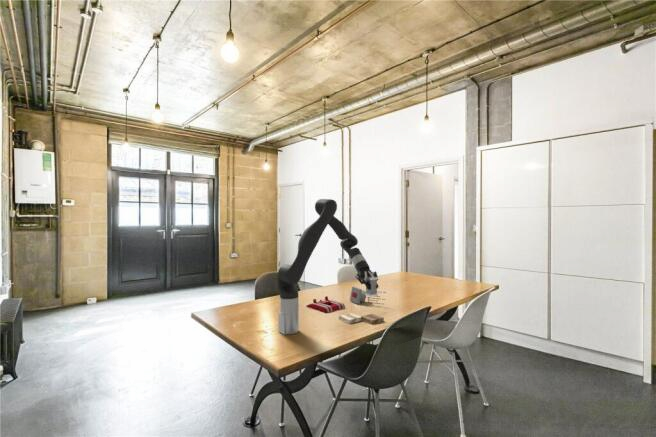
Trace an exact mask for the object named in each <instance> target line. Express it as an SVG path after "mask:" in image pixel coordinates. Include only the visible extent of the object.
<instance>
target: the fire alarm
mask: <svg viewBox="0 0 656 437" xmlns="http://www.w3.org/2000/svg"><path fill="white" fill-rule="evenodd" d="M312 302H313V303H309V304H307V305H305V308H308V309H311V310H315V311H319V312H322V313H325V314H329V313H331V312H335V311H340V310H343V309H345V308H346V306H345V304H344V303H343V302H341V301H336V300H333V299H329V297H328V296H324V300H322V299H319V301H317V299H316V298H314V299H313V300H312Z"/></svg>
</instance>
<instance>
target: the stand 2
mask: <svg viewBox="0 0 656 437" xmlns="http://www.w3.org/2000/svg"><path fill="white" fill-rule="evenodd" d="M360 317H362V321H361V322H363V323H364V322H365V323H366V324H369V325H375V324H379V323H382V322H385V320H384V319H385V318H384V317H382V316H380V315H377V314H374V313H369V314H366V315H365V314H364V315H361V316H360Z"/></svg>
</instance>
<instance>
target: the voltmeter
mask: <svg viewBox="0 0 656 437" xmlns="http://www.w3.org/2000/svg"><path fill="white" fill-rule="evenodd" d="M365 293H366V290H364V289H362V288H359V287H357V286H351V291H350V298H349V301H350V302H352V303H354V304H357V305H360V304H361V303H363V302H365V301H366V299H367V303H368V304H372V306H375V304H377V305H378V304H379V305H383V303H381V302H379V298H380V295H378V296H374V297H370V296H366V295H365ZM378 293H381V294H387V292H386V291H378ZM376 297H377V298H376ZM381 300H382V301H385V300H386V299H384V298H381ZM371 301H372V302H375V303H372V302H371Z"/></svg>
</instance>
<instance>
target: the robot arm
mask: <svg viewBox="0 0 656 437" xmlns="http://www.w3.org/2000/svg"><path fill="white" fill-rule="evenodd" d="M314 210H315V212H316V213H317V215H318V216H319V217H318V218H317V219H316V220H315V221H314V222H312V223H311V224H310V225H309V226H307V227H306V229H304V231H303V233H302V234H301V236H300V238H299V239H298V243H297V244H298V245H297V254H296V257H295V259H294V261H293V262H292V264H283V265H281V266H280V267H279V268H278V271H277V288H278V294H279V312H278V315H277V316H278V332H279V333H281V334H282V335H283V336H285V335H294V334H297V333H299V327H300V326H299V324H300V322H299V317H300V316H299V313H300V312H299V310H300V309H299V307H300V306H299V291H298V290H297V288H296V287H295V285H297V284H298V283H299V282H300V280H301V278H302V276H303V274H304V272H305V269H306V267H307V264H308V263H309V260H310V258H311V256H312V254H313V252H314V250H315V249H316V247H317V245H318V243H319V241H320V239H321V238H322V236H323V234H324V232H325V230H326V228H327V227H328V226H329V227H330V228H331V229H332V231H333V232H334V233H335V235H336V236H337V237H338V240H341V241H339V242H340V244H339V245H340V247H341V249H343V250H344V252H346V253H347V255H348V257H349V258H350V260H351V262H352V264H353V266H354V268H355V270H356V273H357V274H356V275H355V278H356V279H357V280H358V282H359V283H360V284H361V285H365V288H366V287H367V289H368V290H370V289H371V286H370V284H369V283H368V280H367V279H366V277H369V276H373V277H378V279H377V281H378V280H379V276H378V273H377V271H372V270H371V269H370V265H369V263H368V262H367V260H366V257H364V256H363V253H362V252H361V250H360V248H358V247H355V246H357V245H358V243H359V241H358V238H357V236H355V235H353V234H352V233H351V232H350V231H349V230H348V228H347V227H346V225H345V224H344V223H343V222H342V221H341V220H339V219H338V218H337V217H336V216H335V215H336V212H337V210H338V204H337V201H336V200H334V199H330V198H329V199H327V198H320V199H317V200H316V202H315V204H314ZM377 289H379V284H378V283H377Z"/></svg>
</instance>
